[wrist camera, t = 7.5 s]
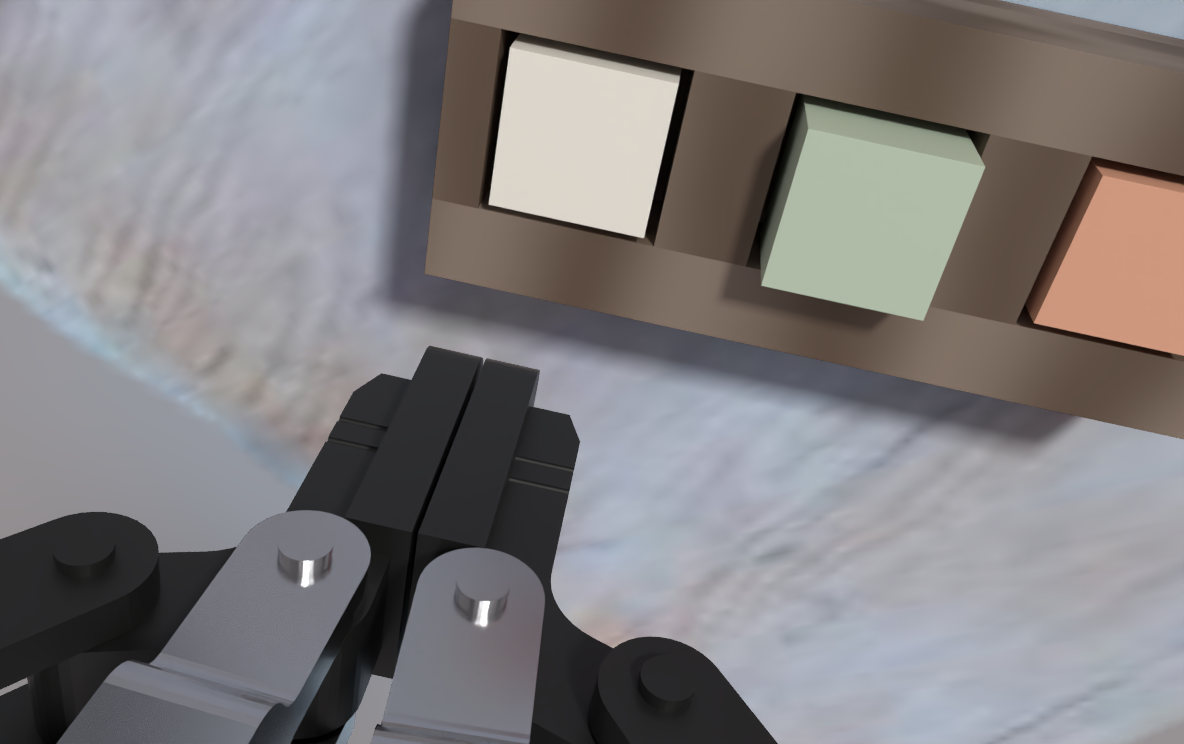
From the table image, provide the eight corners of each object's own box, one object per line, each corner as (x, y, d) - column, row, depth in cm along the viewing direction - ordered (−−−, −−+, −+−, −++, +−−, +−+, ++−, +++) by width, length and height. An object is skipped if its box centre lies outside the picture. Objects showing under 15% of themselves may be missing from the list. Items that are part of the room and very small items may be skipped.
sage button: (759, 234, 28) (761, 285, 26) (801, 88, 26) (808, 128, 24) (907, 266, 28) (923, 320, 26) (961, 123, 26) (985, 167, 23)
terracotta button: (1008, 270, 29) (1033, 323, 27) (1069, 132, 27) (1103, 175, 24) (1151, 301, 29) (1190, 357, 27) (1224, 165, 27) (1273, 212, 24)
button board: (458, 214, 32) (424, 273, 28) (496, -108, 27) (461, -83, 24) (1148, 364, 32) (1196, 442, 28) (1312, 67, 27) (1394, 118, 23)
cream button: (510, 161, 29) (488, 204, 27) (532, 16, 27) (510, 47, 25) (652, 192, 29) (643, 238, 27) (684, 49, 27) (678, 83, 25)
